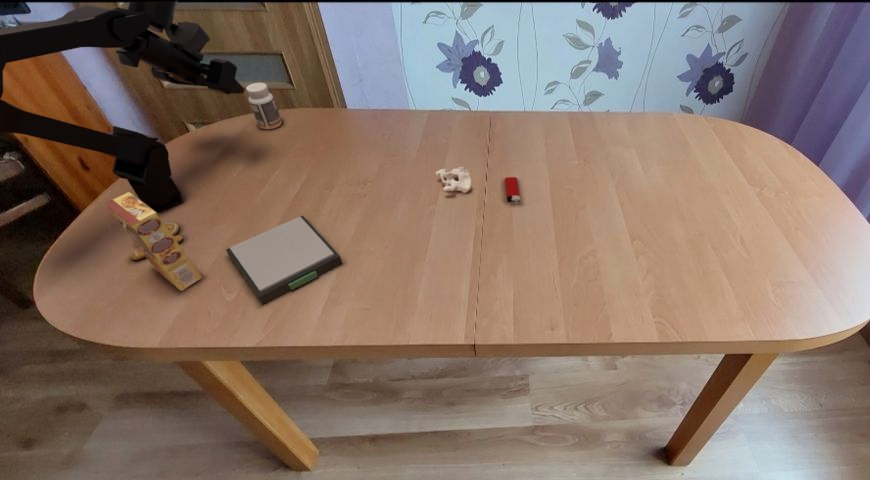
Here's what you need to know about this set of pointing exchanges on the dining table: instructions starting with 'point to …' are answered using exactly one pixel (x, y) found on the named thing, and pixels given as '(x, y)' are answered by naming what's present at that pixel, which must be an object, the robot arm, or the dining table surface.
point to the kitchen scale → (283, 258)
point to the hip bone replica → (460, 185)
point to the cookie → (174, 230)
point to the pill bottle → (263, 106)
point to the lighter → (512, 190)
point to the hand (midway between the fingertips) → (226, 87)
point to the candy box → (153, 240)
